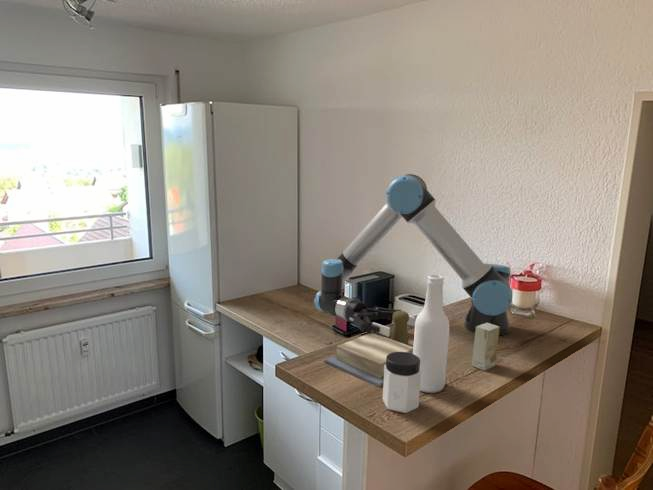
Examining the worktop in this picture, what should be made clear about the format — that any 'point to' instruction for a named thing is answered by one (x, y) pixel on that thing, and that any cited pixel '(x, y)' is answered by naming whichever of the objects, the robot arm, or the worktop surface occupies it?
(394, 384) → the jar
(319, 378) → the worktop surface
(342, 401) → the worktop surface
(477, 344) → the skincare box
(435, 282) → the alcohol
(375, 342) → the plinth
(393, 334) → the cork
